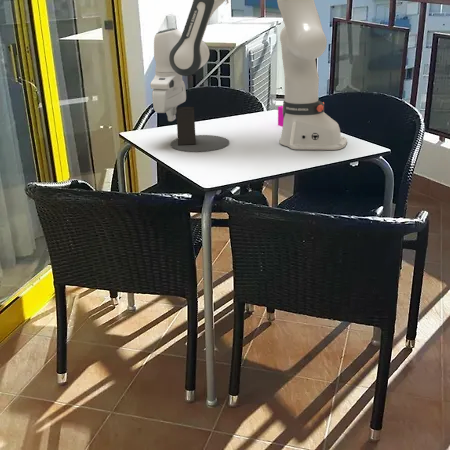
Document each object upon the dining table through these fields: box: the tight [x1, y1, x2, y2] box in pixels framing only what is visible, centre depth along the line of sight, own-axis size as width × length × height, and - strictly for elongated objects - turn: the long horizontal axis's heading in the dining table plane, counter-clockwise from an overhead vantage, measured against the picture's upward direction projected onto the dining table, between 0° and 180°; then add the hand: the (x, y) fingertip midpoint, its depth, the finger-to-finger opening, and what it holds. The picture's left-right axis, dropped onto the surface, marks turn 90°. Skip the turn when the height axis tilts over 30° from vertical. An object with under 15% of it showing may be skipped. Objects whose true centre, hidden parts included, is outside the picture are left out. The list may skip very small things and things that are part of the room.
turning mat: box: [170, 134, 230, 153], centre depth 217 cm, size 20×20×1 cm
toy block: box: [277, 105, 284, 128], centre depth 240 cm, size 15×6×8 cm, turn 125°
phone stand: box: [176, 106, 196, 146], centre depth 216 cm, size 9×6×12 cm, turn 3°
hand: (171, 120), depth 218 cm, fingers closed
